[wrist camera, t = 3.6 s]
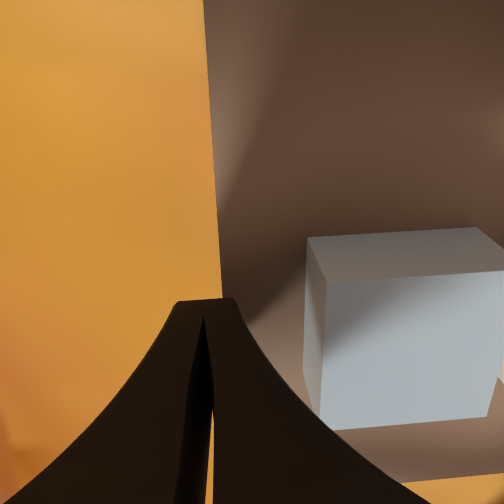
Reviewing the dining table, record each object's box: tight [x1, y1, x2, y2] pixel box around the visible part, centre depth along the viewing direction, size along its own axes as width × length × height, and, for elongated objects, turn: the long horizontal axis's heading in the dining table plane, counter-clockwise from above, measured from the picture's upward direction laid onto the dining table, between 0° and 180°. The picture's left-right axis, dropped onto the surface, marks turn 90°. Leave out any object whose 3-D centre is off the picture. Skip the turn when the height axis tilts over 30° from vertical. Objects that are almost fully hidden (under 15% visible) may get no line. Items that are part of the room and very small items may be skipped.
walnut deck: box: [203, 0, 504, 483], centre depth 13 cm, size 14×13×2 cm
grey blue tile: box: [303, 227, 504, 430], centre depth 11 cm, size 4×4×2 cm
